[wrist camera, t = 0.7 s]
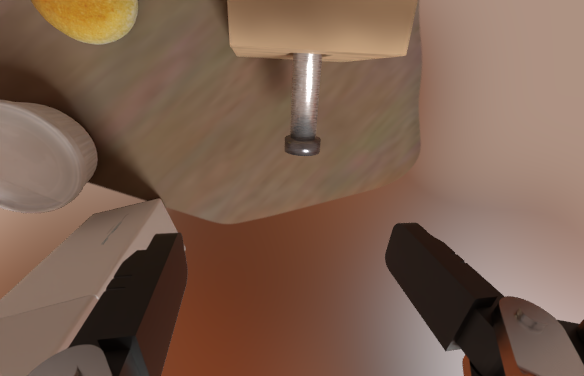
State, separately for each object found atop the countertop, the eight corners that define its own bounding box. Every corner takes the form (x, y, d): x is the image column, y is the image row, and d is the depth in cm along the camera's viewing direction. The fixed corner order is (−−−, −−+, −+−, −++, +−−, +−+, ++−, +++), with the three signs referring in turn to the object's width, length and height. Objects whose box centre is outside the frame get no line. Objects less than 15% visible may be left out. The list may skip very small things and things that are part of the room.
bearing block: (233, -13, 24) (221, -90, 12) (349, -2, 26) (429, -59, 14) (237, 56, 26) (229, 45, 15) (342, 62, 28) (405, 55, 17)
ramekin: (11, 191, 29) (-35, 215, 24) (-34, 90, 24) (-102, 94, 19) (117, 192, 31) (94, 214, 26) (95, 98, 26) (61, 104, 21)
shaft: (288, -127, 17) (297, -170, 14) (335, -118, 17) (354, -158, 14) (282, 145, 25) (287, 156, 22) (314, 145, 25) (323, 155, 22)
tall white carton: (161, 197, 32) (-43, 491, 9) (186, 248, 36) (86, 540, 13) (92, 213, 31) (-296, 567, 9) (126, 263, 35) (-84, 594, 13)
